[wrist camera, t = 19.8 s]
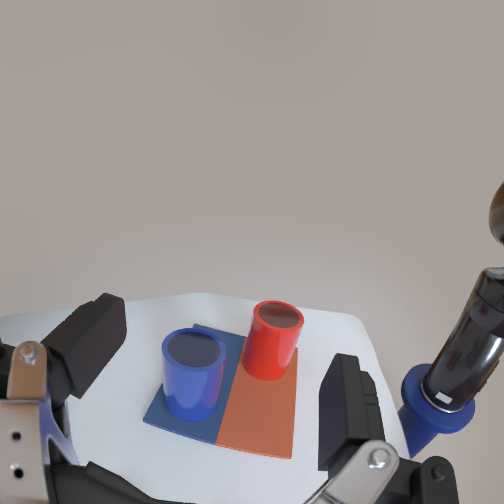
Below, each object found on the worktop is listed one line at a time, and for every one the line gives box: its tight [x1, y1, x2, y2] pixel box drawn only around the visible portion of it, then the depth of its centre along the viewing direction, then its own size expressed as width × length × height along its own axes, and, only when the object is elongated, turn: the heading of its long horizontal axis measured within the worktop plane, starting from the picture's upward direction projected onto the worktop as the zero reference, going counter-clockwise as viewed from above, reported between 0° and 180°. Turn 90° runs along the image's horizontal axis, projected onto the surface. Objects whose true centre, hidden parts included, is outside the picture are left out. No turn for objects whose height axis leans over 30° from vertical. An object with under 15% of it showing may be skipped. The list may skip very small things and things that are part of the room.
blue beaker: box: [162, 328, 227, 421], centre depth 27 cm, size 6×6×9 cm
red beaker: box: [242, 301, 304, 381], centre depth 35 cm, size 6×6×8 cm
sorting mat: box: [143, 324, 298, 459], centre depth 33 cm, size 16×19×1 cm
